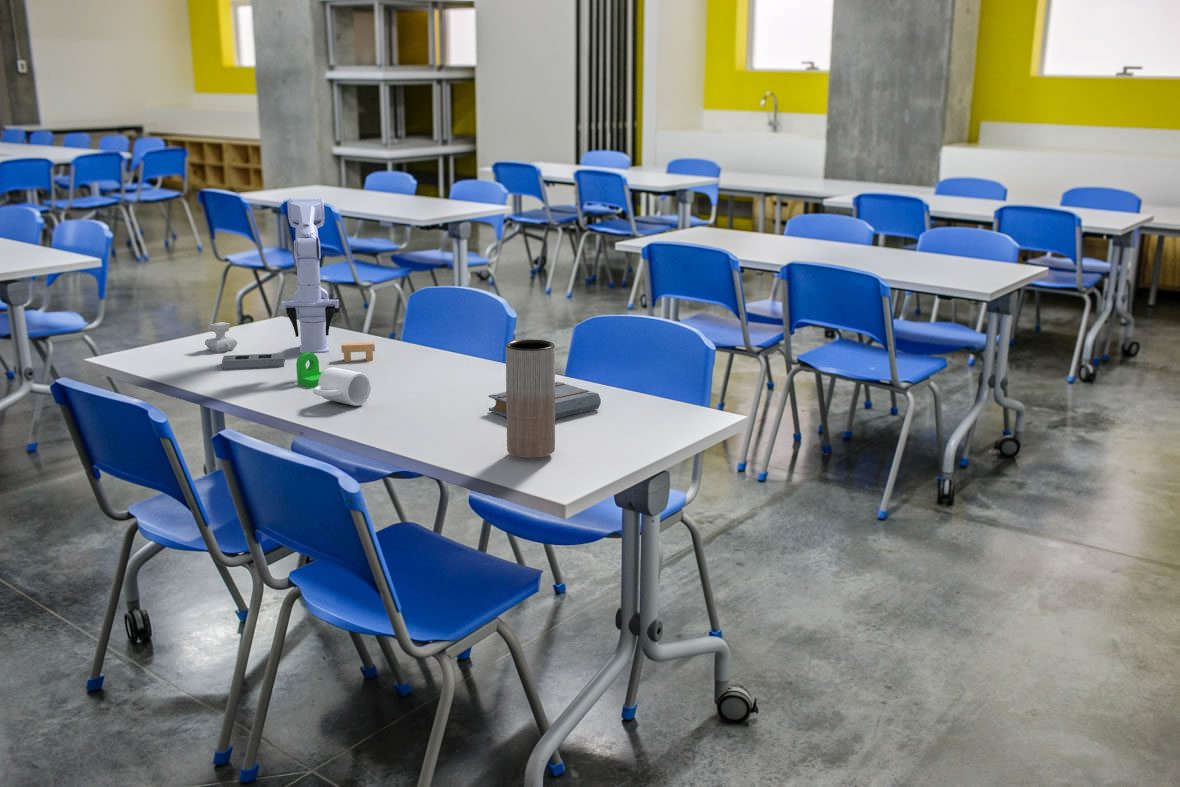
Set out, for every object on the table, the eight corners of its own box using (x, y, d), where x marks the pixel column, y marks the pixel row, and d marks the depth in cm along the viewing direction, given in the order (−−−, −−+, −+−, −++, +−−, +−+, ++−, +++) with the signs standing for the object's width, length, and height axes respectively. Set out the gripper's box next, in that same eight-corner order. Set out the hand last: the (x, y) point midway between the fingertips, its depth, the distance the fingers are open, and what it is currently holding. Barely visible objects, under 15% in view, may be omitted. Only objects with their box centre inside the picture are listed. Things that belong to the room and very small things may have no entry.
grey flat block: (224, 364, 304) (223, 355, 304) (284, 361, 308) (284, 353, 307) (222, 370, 298) (221, 361, 297) (284, 367, 301) (283, 358, 301)
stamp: (203, 351, 320) (200, 323, 318) (223, 348, 325) (221, 319, 323) (219, 356, 314) (217, 327, 312) (240, 352, 319) (238, 324, 317)
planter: (516, 441, 237) (515, 337, 231) (561, 446, 234) (561, 341, 229) (499, 455, 228) (498, 347, 222) (545, 460, 225) (545, 351, 219)
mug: (343, 395, 273) (341, 364, 271) (371, 402, 268) (370, 370, 266) (305, 406, 264) (303, 373, 262) (334, 412, 258) (332, 379, 256)
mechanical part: (312, 388, 281) (310, 357, 279) (297, 384, 284) (295, 354, 282) (349, 379, 290) (348, 349, 288) (334, 376, 294) (332, 346, 292)
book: (531, 427, 250) (531, 405, 248) (487, 411, 262) (487, 391, 260) (600, 411, 263) (600, 390, 262) (556, 397, 275) (556, 377, 274)
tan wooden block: (342, 361, 310) (341, 343, 308) (374, 359, 312) (374, 342, 310) (342, 363, 307) (341, 345, 306) (375, 361, 309) (374, 344, 308)
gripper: (279, 287, 283) (283, 339, 286) (338, 285, 286) (340, 337, 290) (280, 283, 289) (284, 334, 293) (337, 281, 293) (340, 332, 296)
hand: (312, 335), depth 292 cm, fingers open, 7 cm apart
